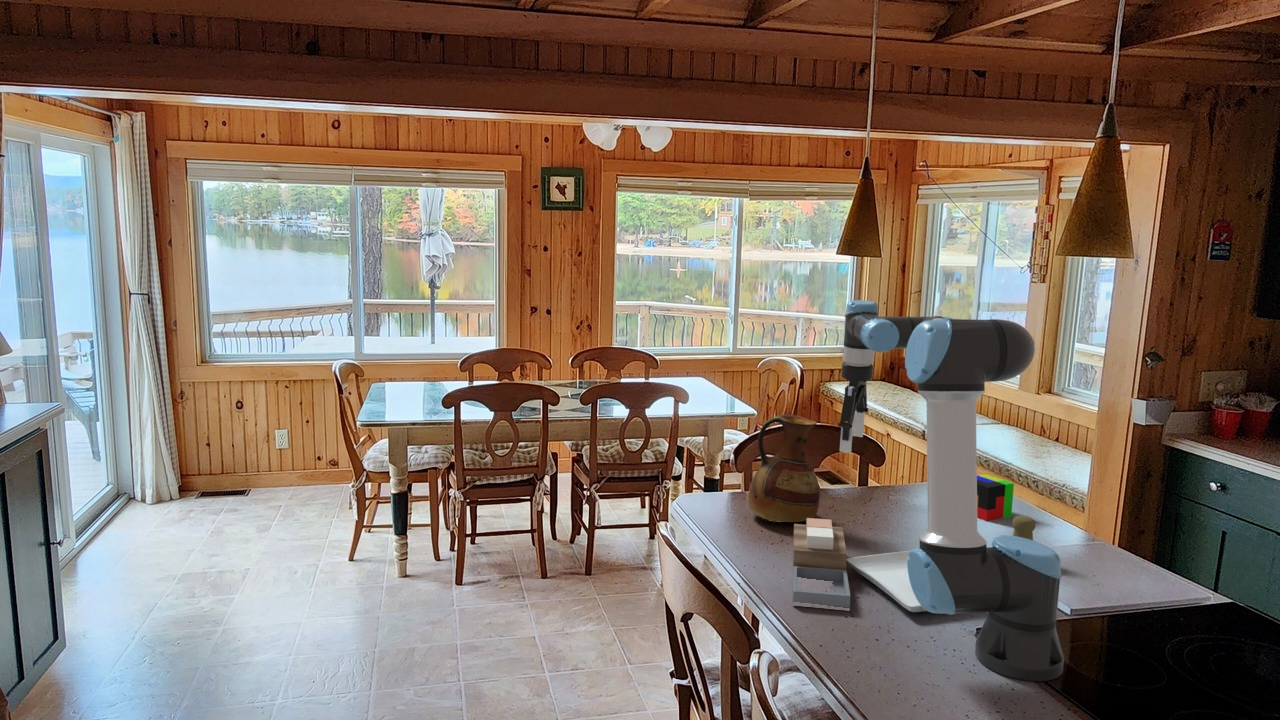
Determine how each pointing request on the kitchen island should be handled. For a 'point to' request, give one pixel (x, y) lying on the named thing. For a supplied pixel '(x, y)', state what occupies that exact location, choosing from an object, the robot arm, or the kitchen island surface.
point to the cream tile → (820, 538)
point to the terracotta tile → (818, 523)
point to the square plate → (889, 576)
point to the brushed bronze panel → (819, 551)
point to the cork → (1023, 527)
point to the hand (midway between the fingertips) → (851, 443)
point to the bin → (823, 598)
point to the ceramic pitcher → (785, 476)
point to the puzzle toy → (993, 498)
